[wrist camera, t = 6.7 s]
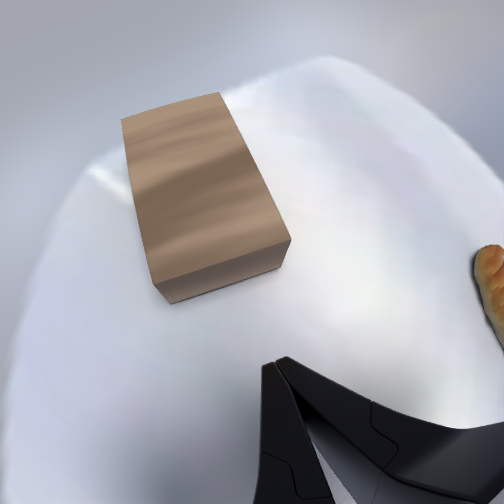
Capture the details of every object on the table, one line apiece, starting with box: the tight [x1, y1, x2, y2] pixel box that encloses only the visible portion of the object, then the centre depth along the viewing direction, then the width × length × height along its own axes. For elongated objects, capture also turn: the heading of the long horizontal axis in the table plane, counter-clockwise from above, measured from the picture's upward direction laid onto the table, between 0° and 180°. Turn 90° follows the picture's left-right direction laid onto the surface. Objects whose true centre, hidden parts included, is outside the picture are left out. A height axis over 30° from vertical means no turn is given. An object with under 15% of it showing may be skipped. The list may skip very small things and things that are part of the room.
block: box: [121, 92, 291, 304], centre depth 18 cm, size 4×7×12 cm
